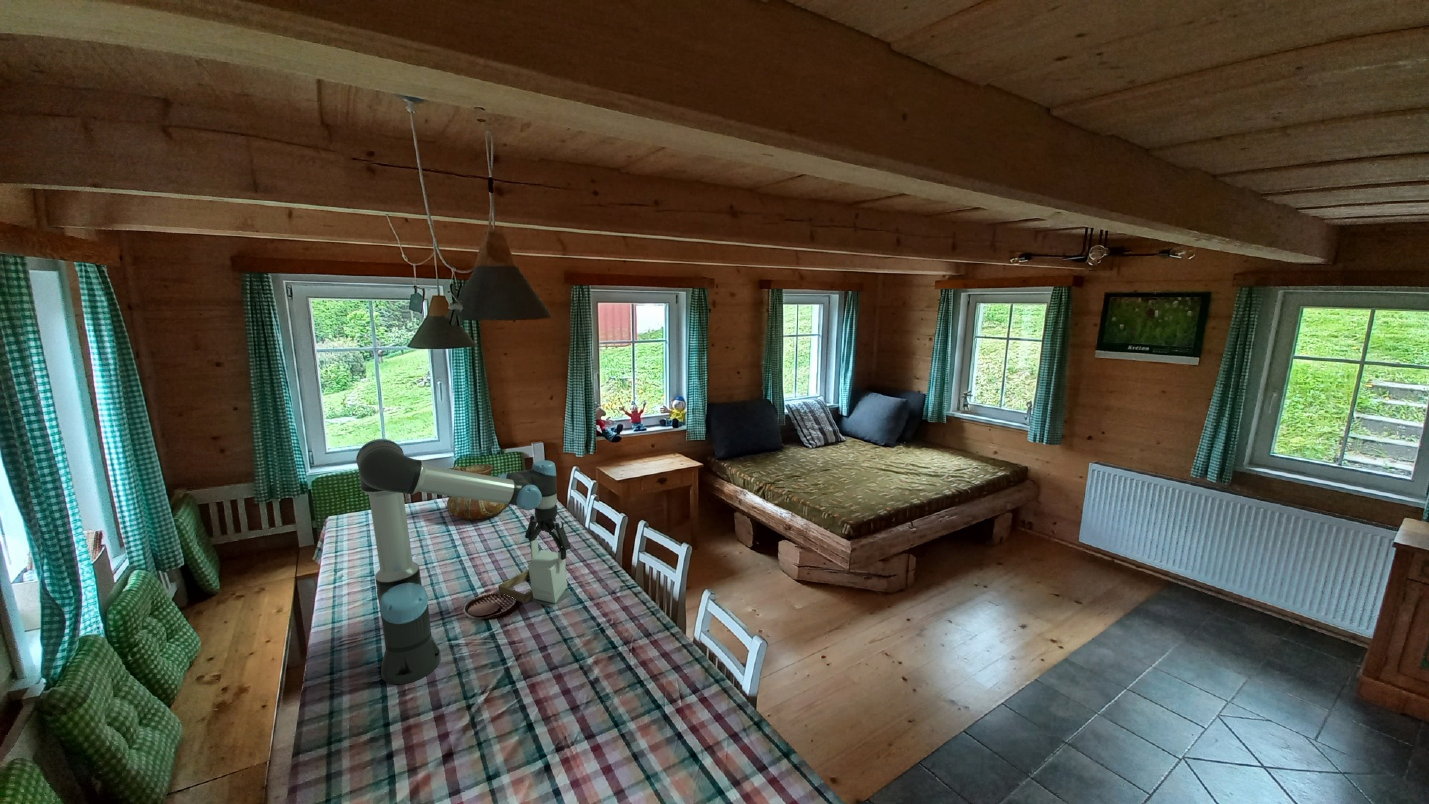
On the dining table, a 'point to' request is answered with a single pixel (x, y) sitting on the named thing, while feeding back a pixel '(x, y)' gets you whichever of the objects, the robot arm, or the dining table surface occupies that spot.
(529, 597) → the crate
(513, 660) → the dining table surface
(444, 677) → the dining table surface
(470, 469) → the jug
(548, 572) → the supplement box
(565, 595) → the coaster
